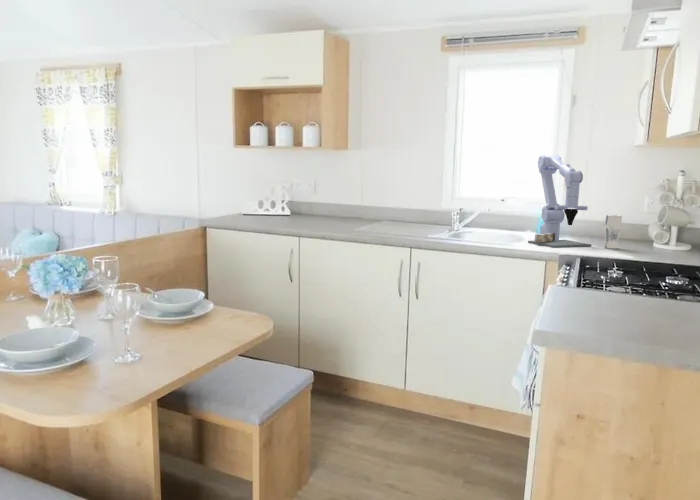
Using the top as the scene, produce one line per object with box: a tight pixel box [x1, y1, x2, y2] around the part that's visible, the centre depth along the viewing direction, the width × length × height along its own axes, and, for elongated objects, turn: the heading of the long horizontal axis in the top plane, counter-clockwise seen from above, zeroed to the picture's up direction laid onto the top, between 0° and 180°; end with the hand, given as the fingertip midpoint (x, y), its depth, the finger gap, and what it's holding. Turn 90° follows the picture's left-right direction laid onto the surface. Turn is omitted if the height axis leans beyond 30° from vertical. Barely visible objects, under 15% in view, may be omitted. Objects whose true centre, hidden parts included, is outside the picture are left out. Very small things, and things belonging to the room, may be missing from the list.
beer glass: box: [603, 214, 623, 250], centre depth 253 cm, size 7×7×15 cm
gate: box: [537, 233, 555, 243], centre depth 265 cm, size 16×2×4 cm, turn 134°
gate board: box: [527, 233, 592, 249], centre depth 263 cm, size 18×22×5 cm
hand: (569, 225), depth 265 cm, fingers closed
